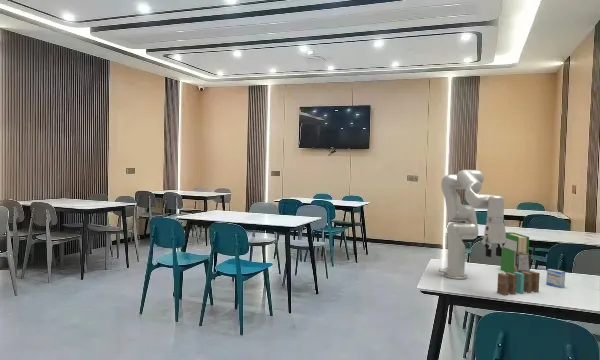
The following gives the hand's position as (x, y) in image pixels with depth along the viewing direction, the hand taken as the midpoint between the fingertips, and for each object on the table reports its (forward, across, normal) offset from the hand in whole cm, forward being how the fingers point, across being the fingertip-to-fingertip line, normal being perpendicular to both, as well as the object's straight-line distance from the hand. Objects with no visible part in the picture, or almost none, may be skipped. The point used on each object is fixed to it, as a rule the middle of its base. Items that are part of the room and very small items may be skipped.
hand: (493, 255), depth 221 cm
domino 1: (+20, +7, 0) cm, 21 cm away
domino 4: (+20, +28, 0) cm, 34 cm away
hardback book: (+20, +51, +34) cm, 64 cm away
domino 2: (+20, +12, 0) cm, 23 cm away
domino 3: (+20, +23, 0) cm, 30 cm away
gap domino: (+20, +17, 0) cm, 26 cm away
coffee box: (+20, +38, +17) cm, 47 cm away
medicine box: (+20, +50, +5) cm, 54 cm away
